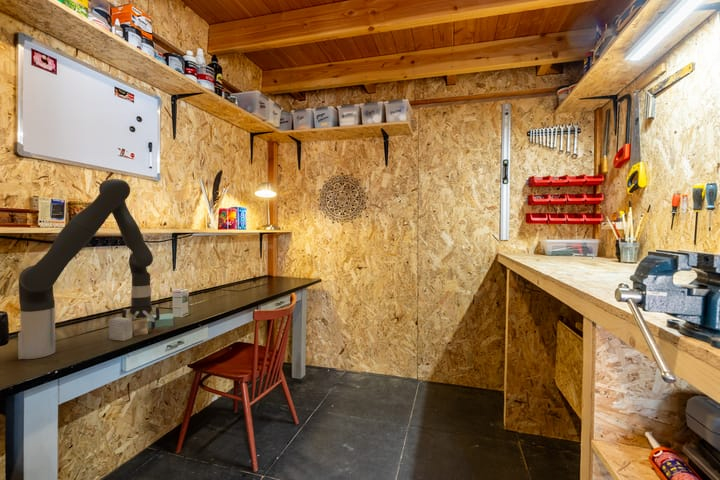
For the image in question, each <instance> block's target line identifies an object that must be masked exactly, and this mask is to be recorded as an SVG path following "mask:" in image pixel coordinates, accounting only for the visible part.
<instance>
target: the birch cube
mask: <svg viewBox="0 0 720 480" xmlns="http://www.w3.org/2000/svg"><path fill="white" fill-rule="evenodd" d="M148 333H149V328H148V321H147V320H140V321H134V324H133V336H143V335H148Z"/></svg>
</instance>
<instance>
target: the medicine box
mask: <svg viewBox="0 0 720 480" xmlns="http://www.w3.org/2000/svg"><path fill="white" fill-rule="evenodd" d="M108 339H109V340H112V341H113V340H114V341H123V342H124V341H127V340H130V339H133V320H132V319H131V317H126V318H122V316H121V317H120V316H117V317H113V318H110V319H108Z"/></svg>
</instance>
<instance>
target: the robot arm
mask: <svg viewBox="0 0 720 480" xmlns="http://www.w3.org/2000/svg"><path fill="white" fill-rule="evenodd" d="M98 191H99V194H98V195H97V196H96V198H95V199H94V200H93V202H91V203H90V204H89V205H87V206H86V207H85V208H84V209H82V210H81V211H79V212H78V213H77V214H75V215H74V216H73V217H72V218H71V219H70V220H69V221H68V222H66V225H64V227H63V228H62V229H61V230H60V231H59V232H58V234H57V236H56V237H55V239H54V241H53V243H52V244H51V246H50V248H49V249H48V251H47V252H46V253H45V254H44V256H42V257H41V259H39V260H38V261H37V262H36V263H35V264H34V265H30V266H27V267H26V268H25V267H24V269H23V270H22V271H21V272H20V274H19V276H18V297H19V298H18V299H19V301H18V302H19V310H20V311H19V314H20V315H19V317H20V331H19V332H18V334H17V342H18V343H17V345H18V346H17V349H18V351H17V352H18V353H17V354H18V360H32V359H33V360H34V359H39V358H40V359H41V358H44V357H48V356H51V355H53V354H55V353H56V310H55V309H56V302H55V296H54V285H55V283H56V282H57V281H58V279H59V277H60V276H61V274H63V271H64V270H65V268H66V267H67V266H68V264H69V263H70V262H71V261H72V260H73V259H74V258H75V257H76V256H77V255H78V254H79V253H80V251H82V250H83V249H84V247H86V246H87V244H88V243H89V242H90V241H91V240H92V238H93V237H94V236H95V235H96V234H97V233H98V231H99V230H100V229H101V227H102V226H103V225H104V224H105V222H106V221H107V219H108V218H109V216H110V215H111V214H112V217H114V220H115V223H116V224H117V227H118V230H119V232H120V234H121V237H122V239H123V241H124V245H125V246H126V247H127V248H128V249H129V250H130V251H131V252H132V253H131V254H130V256H129V258H128V259H129V260H128V266H129V269H130V274H131V290H130V291H131V292H130V298H131V299H130V300H131V301H130V302H131V304H130V309H127V308H123V309H122V312H121V317H122V318H127V315H128V314H129V313H130V314H131V316H130V318H131V319H132V321H133V320H134V319H140V318H143V319H144V318H145V319H146V318H149V319H150V320H151V321H152V322H151V328H150V330H151V331H153V330H154V329H155V321H156V320H159V319H160V314H161V313H160V307H159V306H155V307H154V306H152V287H151V274H150V273H149V271H148V270H147V267H149V266H151V265H152V264H153V262H154V256H153V253H152V252H151V249H150V248H149V247H148V245H147V243H146V242H145V240H144V238H143V235H142V232H141V229H140V227H139V226H138V224H137V221H136V220H135V219H134V216H132V214H131V212H130V210H129V208H128V206H127V203H126V200H127V199H128V198H129V196H130V194H131V187H130V184H129V183H128V182H126V181H125V180H123V179H119V178H110V179H106V180H104V181H102V182H101V183H100V185H99V188H98ZM152 311H153V312H155V315H156V317H155V318H154V317H153V316H152V315H153V314H152V313H151V312H152Z"/></svg>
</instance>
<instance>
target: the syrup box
mask: <svg viewBox="0 0 720 480" xmlns="http://www.w3.org/2000/svg"><path fill="white" fill-rule="evenodd" d="M189 296H190V289H189V288H178V289H174V290H172V313H173V318H184V317H185V316H189V315H190V298H189Z"/></svg>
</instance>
